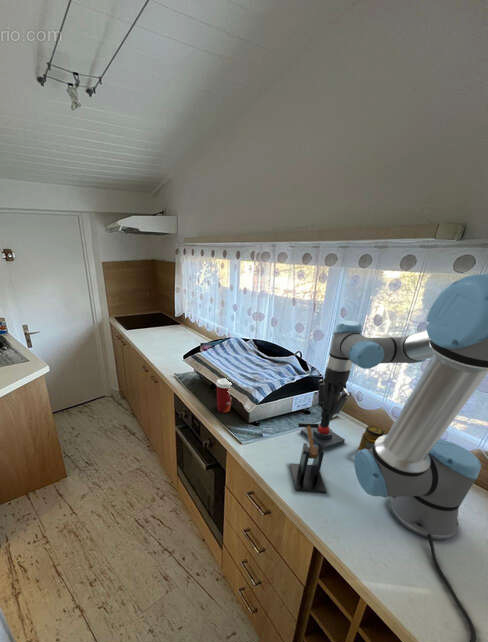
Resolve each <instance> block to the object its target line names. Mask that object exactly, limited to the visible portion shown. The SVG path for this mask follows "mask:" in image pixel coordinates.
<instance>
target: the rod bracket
mask: <svg viewBox="0 0 488 642" xmlns="http://www.w3.org/2000/svg"><path fill="white" fill-rule="evenodd" d="M316 447H317V452H318V456H317V458H316V459H313V460H312V464H309V459H310V458H309V454H310V451H309V444H308V443H307V442H303V443H302V449H301V454H300V459H299V463H293V462H291V463H289V470H290V474H291V477H292V482H293V486H294V491H296V492H306V493H318V494H319V493H320V494H327V489H326V486H325V483H324V480H323V477H322V475H321V472H320V471H321V467H322V465H323V460H324V455H325V450H323V449H322V447H321V444H317V445H316Z"/></svg>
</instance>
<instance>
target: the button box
mask: <svg viewBox="0 0 488 642" xmlns="http://www.w3.org/2000/svg"><path fill="white" fill-rule="evenodd" d="M317 424H318V425H320V424H321V423H317ZM318 429H319V426H318V428H311V432H312V438H313V444H314V445H316V446H317V444H321V447H322V449H323V451H326V450H330V449H331V448H334V447H337V446H340V445H343V444H345V442H346V439H345V438H343V437H341V436H340V435H338V434H337V433H335V432H334V431H333V429H331V428H330V427H329V432H328V434H323V433H320V432H318ZM300 435H302V436H304V438H306V439H308V434H307V428H305V427H304V428H302V429H301V430H300Z"/></svg>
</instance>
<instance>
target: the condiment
mask: <svg viewBox="0 0 488 642" xmlns="http://www.w3.org/2000/svg"><path fill="white" fill-rule="evenodd" d="M383 435H385V430H384V429H383V428H381V427H379V426H376V425H368V426H366V428H365V430H364V432H363V433H362V436H361V439H360V441H359V446H358V448H357V450H356V451H355V454H356V453H357V452H358V451H359V450H363V449H371V448H372V447H373V445H374V443H375V441H376V440H377V439H378V438H379V437H380V436H383Z"/></svg>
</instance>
